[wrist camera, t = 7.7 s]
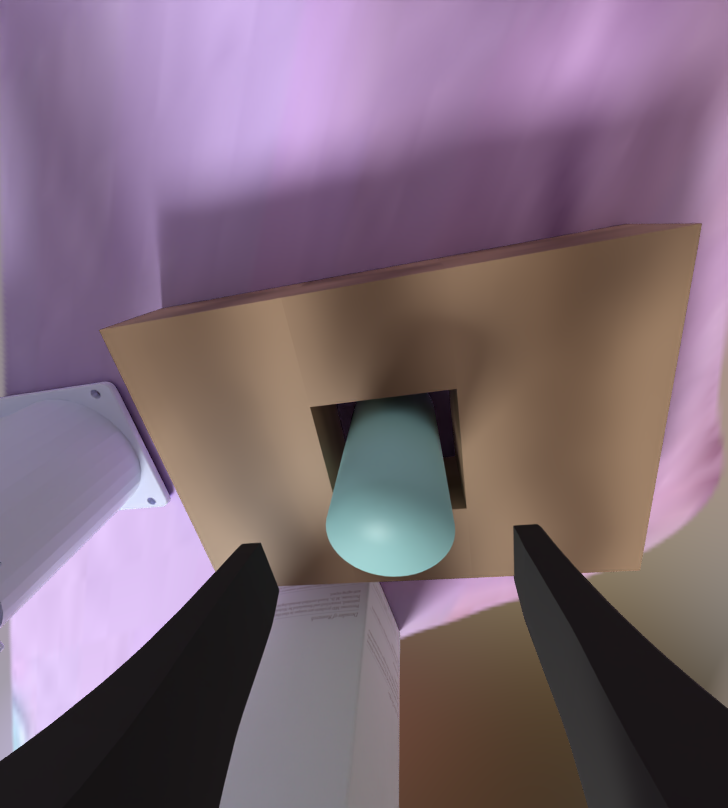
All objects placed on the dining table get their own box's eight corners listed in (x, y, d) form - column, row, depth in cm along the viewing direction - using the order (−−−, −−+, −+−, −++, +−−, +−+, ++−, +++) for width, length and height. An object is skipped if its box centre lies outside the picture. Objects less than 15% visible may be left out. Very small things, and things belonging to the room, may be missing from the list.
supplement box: (267, 574, 25) (153, 867, 13) (374, 559, 23) (346, 876, 12) (305, 643, 28) (237, 932, 16) (402, 634, 26) (402, 946, 15)
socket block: (251, 532, 23) (223, 588, 20) (161, 308, 17) (98, 329, 14) (597, 508, 20) (639, 570, 16) (626, 224, 14) (701, 223, 11)
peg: (363, 451, 20) (342, 580, 13) (346, 383, 18) (310, 487, 11) (439, 441, 19) (461, 571, 12) (428, 370, 18) (446, 471, 10)
